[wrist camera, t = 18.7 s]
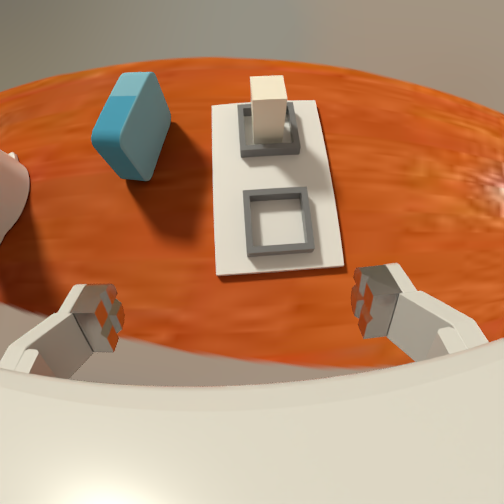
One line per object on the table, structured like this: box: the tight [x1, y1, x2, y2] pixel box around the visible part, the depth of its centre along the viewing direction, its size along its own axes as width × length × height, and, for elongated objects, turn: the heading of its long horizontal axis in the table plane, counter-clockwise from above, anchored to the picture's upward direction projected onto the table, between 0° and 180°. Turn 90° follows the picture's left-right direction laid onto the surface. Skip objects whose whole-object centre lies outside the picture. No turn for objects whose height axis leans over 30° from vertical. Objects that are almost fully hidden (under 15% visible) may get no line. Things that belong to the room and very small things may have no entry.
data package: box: [91, 72, 171, 181], centre depth 39 cm, size 12×4×12 cm, turn 170°
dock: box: [212, 100, 344, 276], centre depth 42 cm, size 16×26×3 cm, turn 4°
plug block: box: [250, 75, 287, 144], centre depth 39 cm, size 4×4×10 cm
